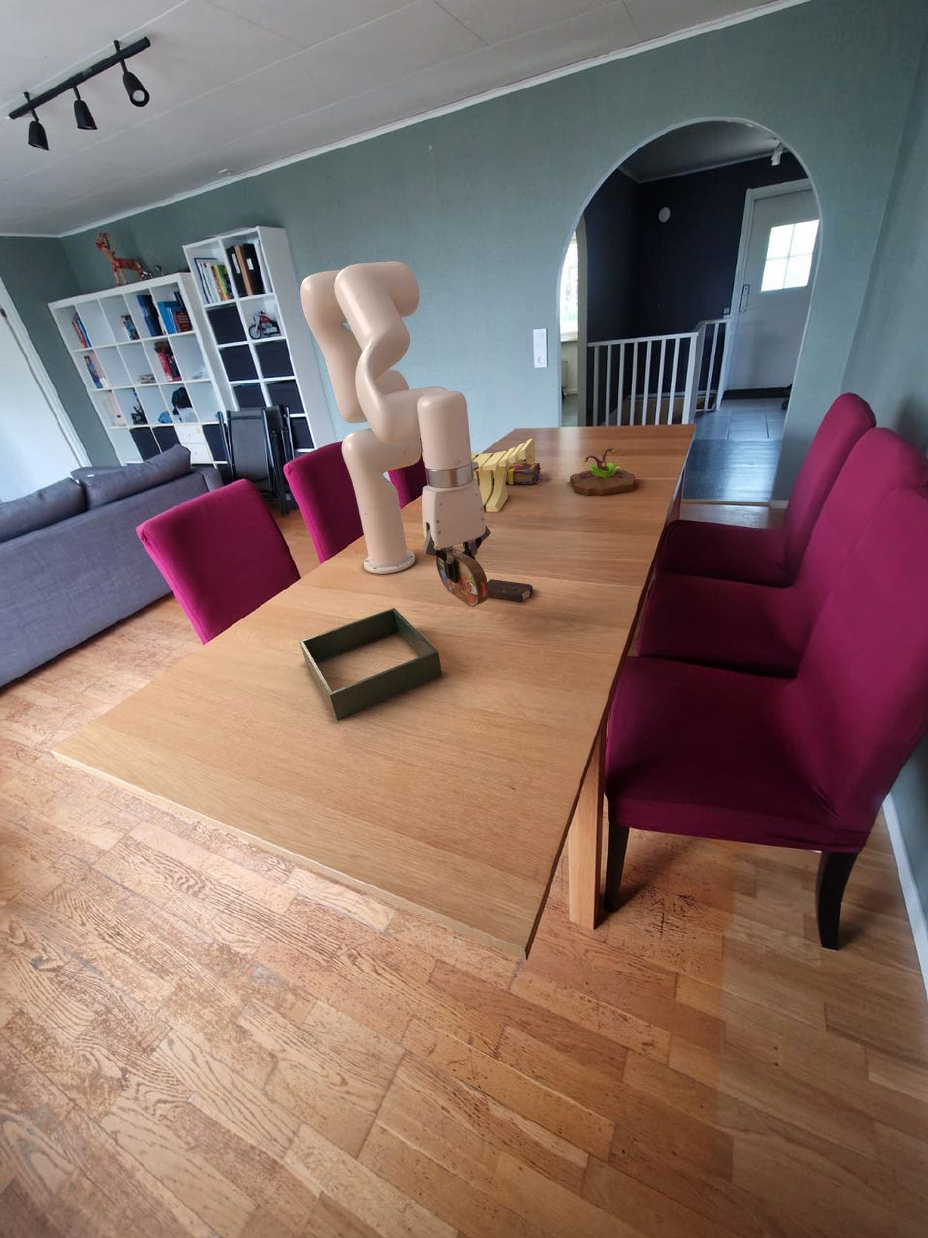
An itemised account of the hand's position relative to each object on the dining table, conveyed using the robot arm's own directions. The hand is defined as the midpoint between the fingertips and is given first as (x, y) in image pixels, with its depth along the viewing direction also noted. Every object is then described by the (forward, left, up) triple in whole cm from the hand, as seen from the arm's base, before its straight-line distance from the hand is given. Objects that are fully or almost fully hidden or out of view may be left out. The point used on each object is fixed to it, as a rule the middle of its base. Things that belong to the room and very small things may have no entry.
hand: (461, 576), depth 92 cm
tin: (0, 0, -4) cm, 4 cm away
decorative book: (-72, +62, -11) cm, 96 cm away
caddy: (+1, -20, -11) cm, 23 cm away
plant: (-46, +77, -11) cm, 90 cm away
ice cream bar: (-8, +12, -11) cm, 18 cm away
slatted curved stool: (-60, +41, -11) cm, 74 cm away
